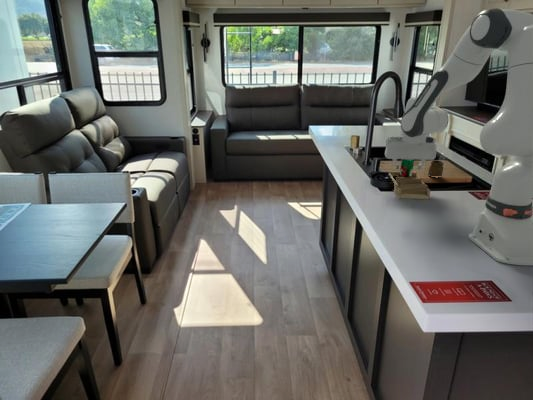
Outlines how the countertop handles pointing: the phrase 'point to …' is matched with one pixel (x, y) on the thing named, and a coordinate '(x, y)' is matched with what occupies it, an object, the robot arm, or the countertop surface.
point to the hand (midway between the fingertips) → (407, 168)
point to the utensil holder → (436, 168)
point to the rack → (409, 186)
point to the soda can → (406, 168)
